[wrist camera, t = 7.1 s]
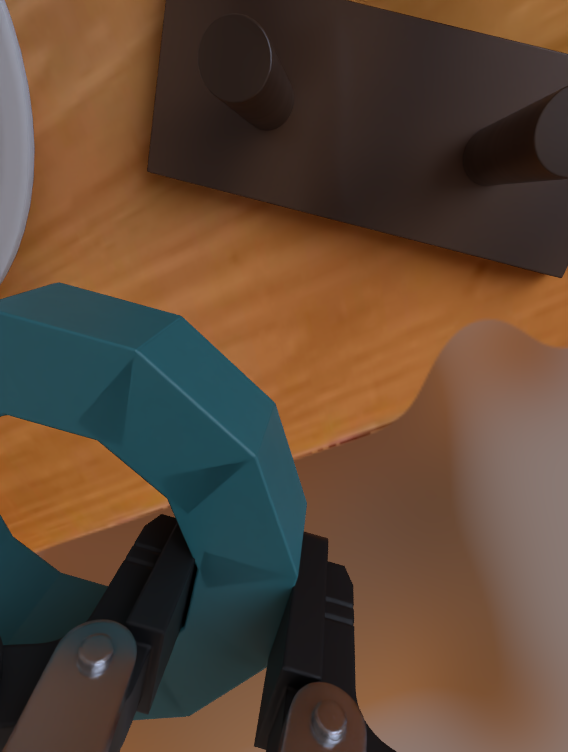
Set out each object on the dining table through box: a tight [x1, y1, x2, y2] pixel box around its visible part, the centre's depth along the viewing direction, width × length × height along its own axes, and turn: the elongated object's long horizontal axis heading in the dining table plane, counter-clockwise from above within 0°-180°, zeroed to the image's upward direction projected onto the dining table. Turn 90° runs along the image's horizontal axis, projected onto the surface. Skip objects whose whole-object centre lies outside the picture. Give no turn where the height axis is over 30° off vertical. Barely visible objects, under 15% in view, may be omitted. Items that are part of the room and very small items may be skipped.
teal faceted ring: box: [0, 282, 307, 720], centre depth 11 cm, size 10×10×2 cm
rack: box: [147, 0, 568, 278], centre depth 18 cm, size 22×9×10 cm, turn 76°
